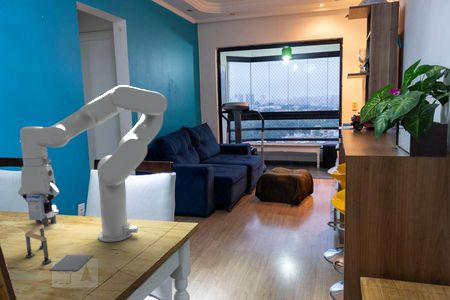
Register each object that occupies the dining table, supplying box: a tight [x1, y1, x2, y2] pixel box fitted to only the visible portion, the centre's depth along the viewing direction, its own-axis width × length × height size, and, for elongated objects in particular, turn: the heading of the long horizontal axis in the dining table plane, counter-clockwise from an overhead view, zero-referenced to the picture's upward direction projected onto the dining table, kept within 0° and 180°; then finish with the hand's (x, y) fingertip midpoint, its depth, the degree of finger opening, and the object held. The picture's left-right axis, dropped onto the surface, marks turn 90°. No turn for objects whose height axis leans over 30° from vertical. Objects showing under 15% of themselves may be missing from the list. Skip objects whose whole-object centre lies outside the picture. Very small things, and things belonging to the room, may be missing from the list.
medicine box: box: [27, 194, 52, 221], centre depth 118 cm, size 8×4×9 cm, turn 4°
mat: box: [49, 254, 93, 272], centre depth 108 cm, size 9×10×1 cm
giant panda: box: [35, 202, 59, 227], centre depth 144 cm, size 15×6×10 cm, turn 58°
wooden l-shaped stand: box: [24, 224, 52, 265], centre depth 114 cm, size 11×13×9 cm
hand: (40, 211), depth 119 cm, fingers closed on medicine box, 4 cm apart
